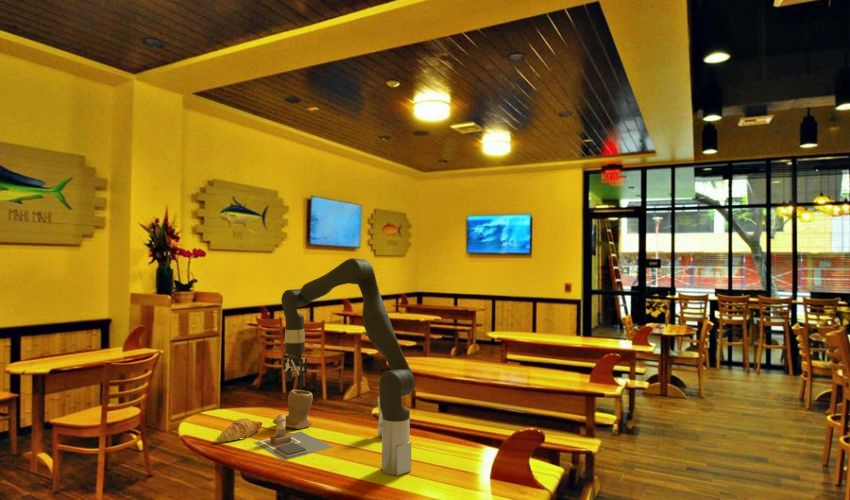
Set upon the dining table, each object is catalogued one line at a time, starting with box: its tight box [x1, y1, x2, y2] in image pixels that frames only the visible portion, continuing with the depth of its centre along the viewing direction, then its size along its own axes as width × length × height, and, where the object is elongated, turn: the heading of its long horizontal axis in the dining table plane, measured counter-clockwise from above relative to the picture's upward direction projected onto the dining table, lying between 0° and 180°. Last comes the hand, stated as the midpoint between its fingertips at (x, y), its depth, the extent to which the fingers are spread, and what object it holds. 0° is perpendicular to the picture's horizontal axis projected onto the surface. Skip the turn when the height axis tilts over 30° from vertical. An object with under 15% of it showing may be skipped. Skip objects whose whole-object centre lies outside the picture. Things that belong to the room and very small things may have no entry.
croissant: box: [216, 418, 263, 443], centre depth 205 cm, size 21×10×8 cm, turn 150°
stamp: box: [269, 413, 291, 446], centre depth 196 cm, size 6×6×10 cm
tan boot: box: [272, 389, 314, 430], centre depth 218 cm, size 15×12×15 cm
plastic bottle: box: [376, 394, 382, 438], centre depth 205 cm, size 6×7×20 cm
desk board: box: [253, 431, 333, 461], centre depth 193 cm, size 24×20×2 cm
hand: (294, 383), depth 199 cm, fingers open, 8 cm apart
